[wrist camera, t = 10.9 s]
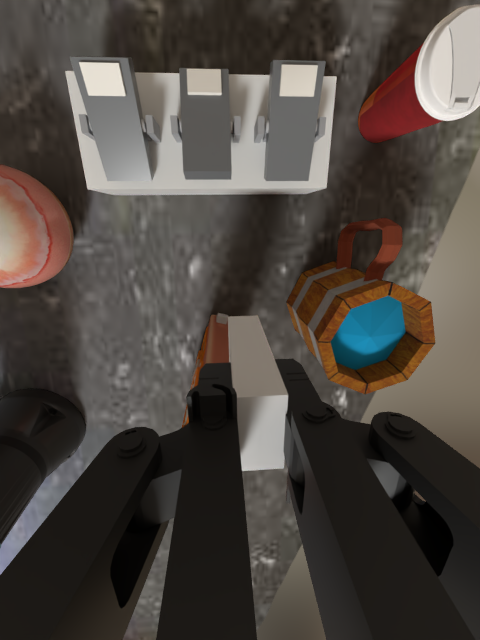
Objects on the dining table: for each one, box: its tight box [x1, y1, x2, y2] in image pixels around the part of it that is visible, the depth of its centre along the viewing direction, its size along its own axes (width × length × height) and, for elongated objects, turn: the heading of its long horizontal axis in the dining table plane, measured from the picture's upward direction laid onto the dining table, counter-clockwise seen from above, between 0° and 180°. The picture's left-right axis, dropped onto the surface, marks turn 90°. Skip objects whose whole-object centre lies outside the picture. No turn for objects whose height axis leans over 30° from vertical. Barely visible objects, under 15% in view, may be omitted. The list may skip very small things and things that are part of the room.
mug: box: [286, 218, 435, 394], centre depth 36 cm, size 20×14×15 cm
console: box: [65, 71, 337, 195], centre depth 30 cm, size 26×10×11 cm, turn 90°
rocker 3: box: [264, 60, 326, 181], centre depth 26 cm, size 5×9×2 cm, turn 0°
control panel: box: [182, 313, 229, 428], centre depth 36 cm, size 21×7×15 cm
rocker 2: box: [179, 68, 232, 180], centre depth 25 cm, size 5×9×2 cm, turn 0°
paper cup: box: [358, 5, 480, 143], centre depth 29 cm, size 8×8×14 cm
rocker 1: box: [70, 56, 154, 181], centre depth 25 cm, size 5×9×2 cm, turn 0°
